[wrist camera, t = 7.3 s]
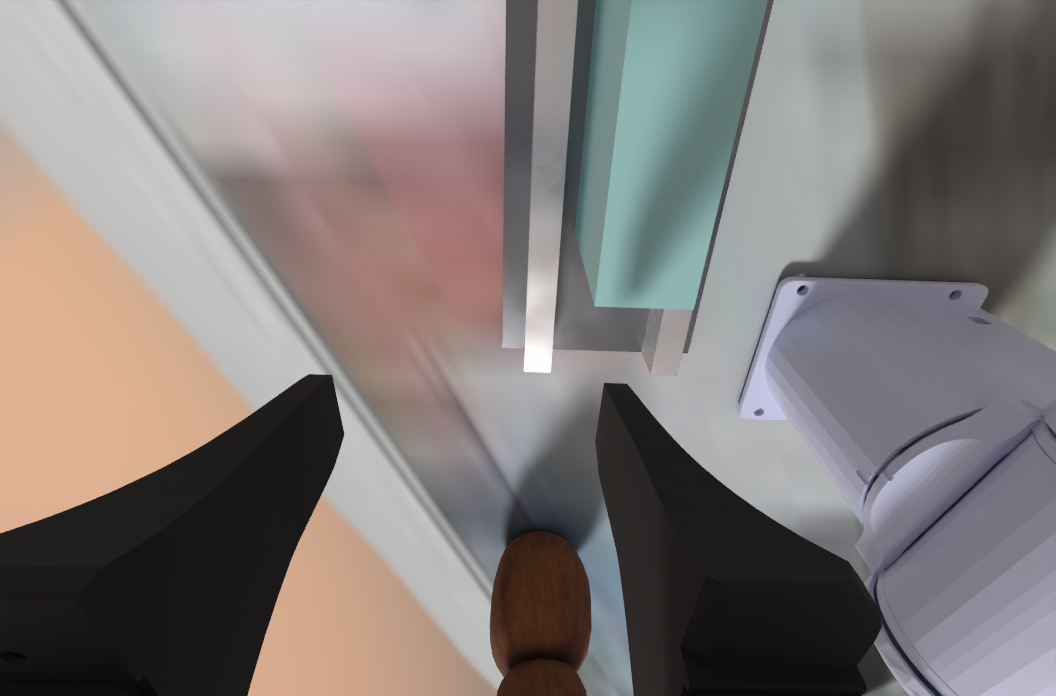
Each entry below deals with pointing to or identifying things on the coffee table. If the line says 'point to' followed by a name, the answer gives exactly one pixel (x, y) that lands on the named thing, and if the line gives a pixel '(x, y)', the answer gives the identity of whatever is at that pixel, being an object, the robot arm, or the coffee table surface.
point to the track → (568, 199)
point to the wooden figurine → (540, 617)
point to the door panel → (659, 143)
